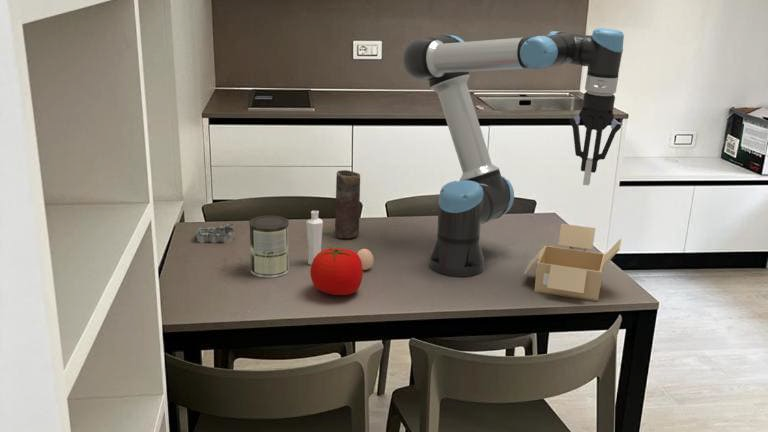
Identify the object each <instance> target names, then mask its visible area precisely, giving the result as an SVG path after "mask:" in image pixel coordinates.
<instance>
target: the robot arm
mask: <svg viewBox="0 0 768 432" xmlns="http://www.w3.org/2000/svg"><path fill="white" fill-rule="evenodd" d="M624 37H625V34H624V33H623V31H621V30H620V29H613V28H600V27H599V28H594V29H593V31H592V34H591V35H590V34H589V35H588V34H587V35H586V34H580V33H572V32H568V31H564V30H563V31H558V30H557V31H555V30H554V31H550V32H548V34H546V35H535V36H527V37H513V38H512V37H510V38H502V39H501V38H500V39H497V38H496V39H489V40H488V39H486V40H485V39H484V40H473V41H465V40H463V39H462V38H460V37H459V36H456V35H449V34H441V35H435V36H423V37H418V38H415V39H413V40H411V41H410V42H409V43H408V44H407V45H406V47H405V48H404V50H403V53H402V65H403V68H404V70H405V72H406V73H407V74H408V75H409V76H410V77H411V78H413V79H415V80H418V81H427V82H428V84H429V87H430V90H431V91H434V92H435V93H437V96H438V99H439V102H440V105H441V108H442V111H443V114H444V118H445V121H446V124H447V128H448V130H449V133H450V134H449V135H450V136H451V140H452V143H453V147H454V148H455V149H454V150H455V153H456V155H457V159H458V162H459V165H460V168H461V171H462V175H461V176H460V179H459V180H458V181H457V180H453V181H449V182H448V183H446V184H444V185H443V186H442V187H441V189H440V191H439V197H438V199H437V200H438V201H437V203H438V211H437V212H438V213H437V216H438V217H437V234H436V240H435V244H434V245H433V249H432V251H431V253H430V256H429V265H428V266H429V268H430V270H432V271H435V272H436V273H439V274H442V275H445V276H451V277H471V276H476V275H478V274H480V273H482V272H483V271H484V269H485V259H484V255H483V250H482V246H481V244H480V236H481V226H482V225H483V224H486V223H487V222H488V223H489V222H490V221H493V220H496V219H499V218H501V217H502V216H503V215H505V214H507V212H509V211H510V209H511V208H512V206H513V204H514V200H515V191H514V187H513V185H512V183H511V182H510V180H509V179H507V178H506V177H505V176H503V175H502V173H501V171H500V168H499V167H498V166H496V165H494V164H493V163H492V160H491V157H490V153H489V150H488V148H487V145H486V141H485V138H484V134H483V131H482V129H481V125H480V121H479V119H478V116H477V112H476V110H475V106H474V103H473V100H472V96H471V94H470V90H469V87H468V84H467V83H468V81H469V79H470V76H471V75H470V72H482V71H484V72H486V71H488V72H489V71H504V70H523V69H529V70H530V69H532V70H544V69H547V68H550V67H551V68H552V67H557V66H562V65H574V66H575V65H576V66H581V67H587V71H586V77H585V79H586V80H585V86H584V90H585V92H584V93H583V99H582V105H581V107H582V108H581V109H580V111H579V113H578V114H577V115H575V116H571V117H570V118H569V123H570V125H571V127H572V132H573V142H574V143H573V144H574V151H575V153H574V154H575V156H576V157H579V158H581V165H580V171H581V172H584V176H583V182H582V185H583V186H590V184H591V177H592V173H596V172H597V167H598V162H599V161H600V160H605V159H606V157H607V154H608V152H609V149H610V147H611V145H612V143H613V141H614V138H615V136H616V134H617V132H618V131H619V130H621V128H622V123H621V122H618V120H617V119H615V115H614V108H615V107H614V106H615V100H616V96H615V93H617V87H618V80H619V74H620V73H619V72H620V68H621V62H622V55H623V52H624V40H625V39H624ZM580 120H581V121H580ZM581 122H582V124H583V125H584V128H585V135H584V136H585V137H584V143H583V149H582V145H581V136H580V135H581V134H580V128H579V127H580V126H579V125H580V123H581ZM610 124H611V125H610ZM609 125H610V128H611V130H610V133H609V135H608V137H607V140H606V143H605V145H604V146H603V148H602V149H603V150H602V151H601V153H600V150H601V149H600V148H601V143H602V134H603V131H604V130H606V128H607V127H608V126H609ZM593 130H595V131H596V132H595V140H594V148H593V153H592V157H591V158H590V157H589V151H590V144H591V139H592V138H591V137H592V133H593V132H592V131H593Z"/></svg>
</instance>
